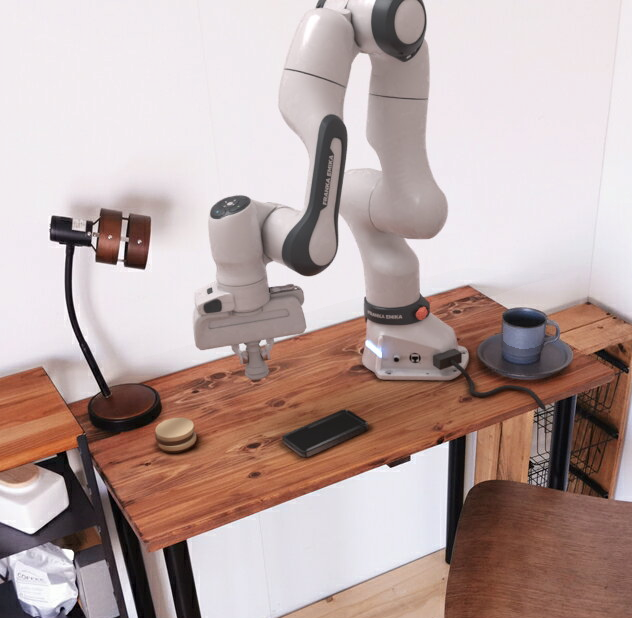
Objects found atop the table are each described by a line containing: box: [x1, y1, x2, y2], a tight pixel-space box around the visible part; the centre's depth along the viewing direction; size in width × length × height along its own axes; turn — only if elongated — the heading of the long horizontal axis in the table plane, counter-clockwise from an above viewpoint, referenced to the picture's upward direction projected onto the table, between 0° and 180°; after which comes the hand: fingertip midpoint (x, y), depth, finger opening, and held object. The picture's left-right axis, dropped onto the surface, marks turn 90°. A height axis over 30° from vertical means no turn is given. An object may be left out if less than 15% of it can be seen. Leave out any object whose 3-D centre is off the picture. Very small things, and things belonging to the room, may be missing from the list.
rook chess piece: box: [243, 340, 270, 381], centre depth 167 cm, size 4×4×8 cm
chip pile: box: [154, 417, 197, 454], centre depth 168 cm, size 8×8×4 cm
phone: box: [282, 408, 369, 458], centre depth 168 cm, size 8×1×15 cm
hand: (255, 360), depth 167 cm, fingers closed on rook chess piece, 3 cm apart
